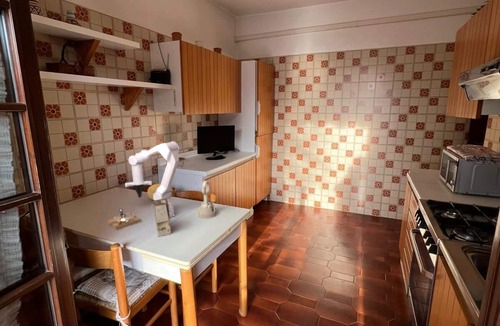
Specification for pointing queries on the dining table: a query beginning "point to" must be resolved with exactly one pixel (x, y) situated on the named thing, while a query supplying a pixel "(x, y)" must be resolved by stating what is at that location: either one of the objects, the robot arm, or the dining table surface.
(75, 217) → the dining table surface
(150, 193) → the sculpture
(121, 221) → the sprocket
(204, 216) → the engine component
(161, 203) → the coffee box
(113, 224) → the index board
